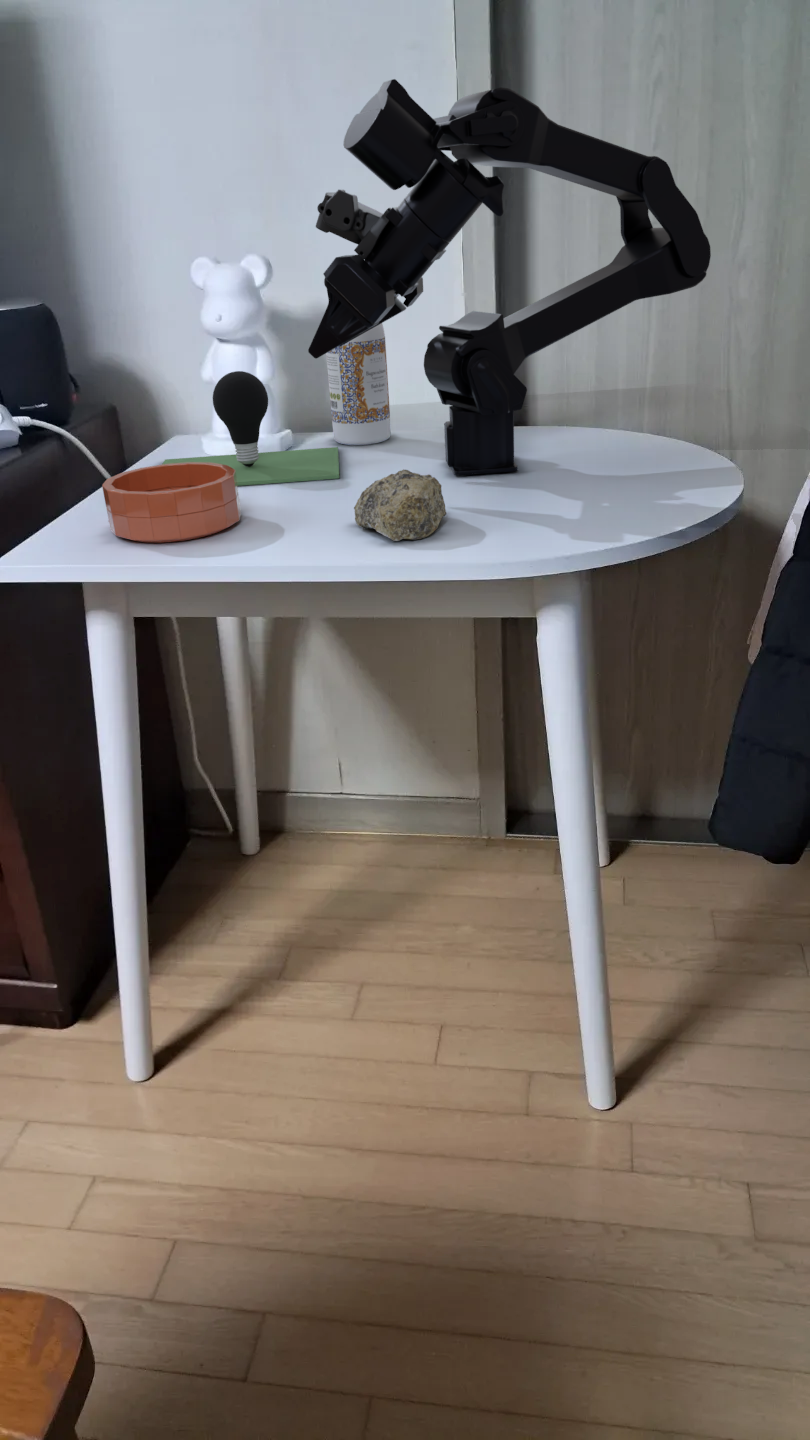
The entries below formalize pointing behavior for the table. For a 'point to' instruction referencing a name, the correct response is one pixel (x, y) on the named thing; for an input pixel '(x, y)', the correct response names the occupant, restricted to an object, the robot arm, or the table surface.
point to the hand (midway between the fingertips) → (324, 348)
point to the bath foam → (360, 389)
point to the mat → (279, 466)
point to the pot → (172, 501)
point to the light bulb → (241, 411)
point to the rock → (402, 506)
